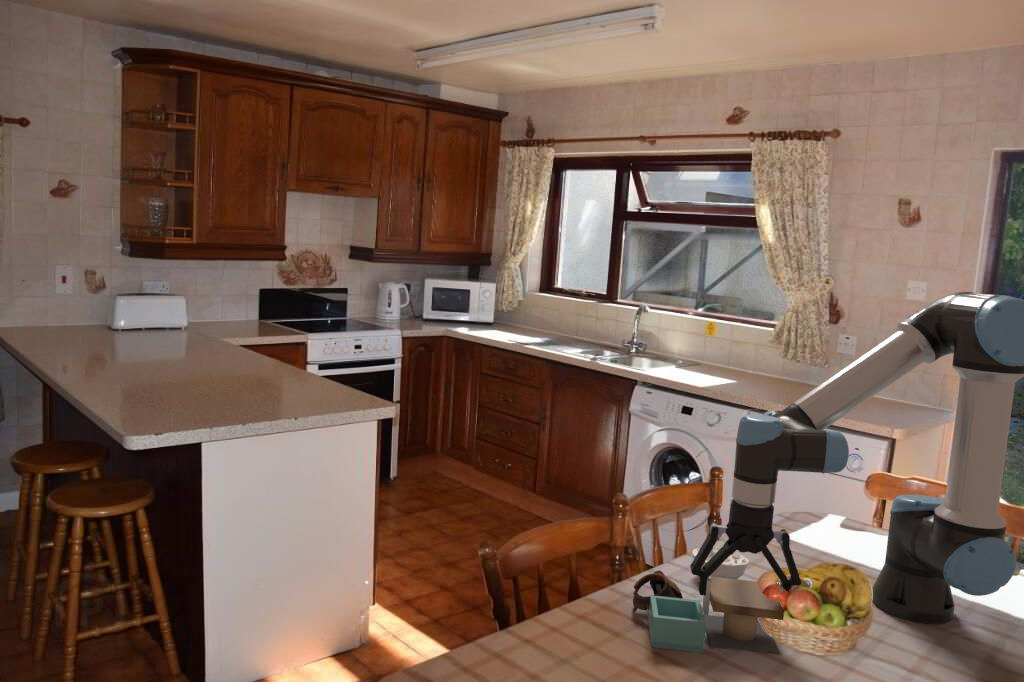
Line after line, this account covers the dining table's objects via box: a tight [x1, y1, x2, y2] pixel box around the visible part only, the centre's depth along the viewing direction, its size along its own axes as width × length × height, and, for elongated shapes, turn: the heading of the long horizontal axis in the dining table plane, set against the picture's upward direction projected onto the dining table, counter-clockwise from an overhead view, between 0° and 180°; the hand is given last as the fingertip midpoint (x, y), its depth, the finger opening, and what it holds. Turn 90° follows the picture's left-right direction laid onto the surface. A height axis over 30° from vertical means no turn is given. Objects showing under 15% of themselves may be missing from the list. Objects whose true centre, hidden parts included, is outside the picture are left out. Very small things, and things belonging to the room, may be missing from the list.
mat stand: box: [704, 613, 781, 655], centre depth 148 cm, size 12×12×6 cm
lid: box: [710, 576, 785, 621], centre depth 148 cm, size 12×12×2 cm
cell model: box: [691, 547, 751, 579], centre depth 174 cm, size 10×12×7 cm
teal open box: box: [647, 594, 706, 654], centre depth 146 cm, size 9×9×6 cm
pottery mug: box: [632, 569, 684, 611], centre depth 157 cm, size 12×10×8 cm
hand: (740, 615), depth 148 cm, fingers closed on lid, 12 cm apart
